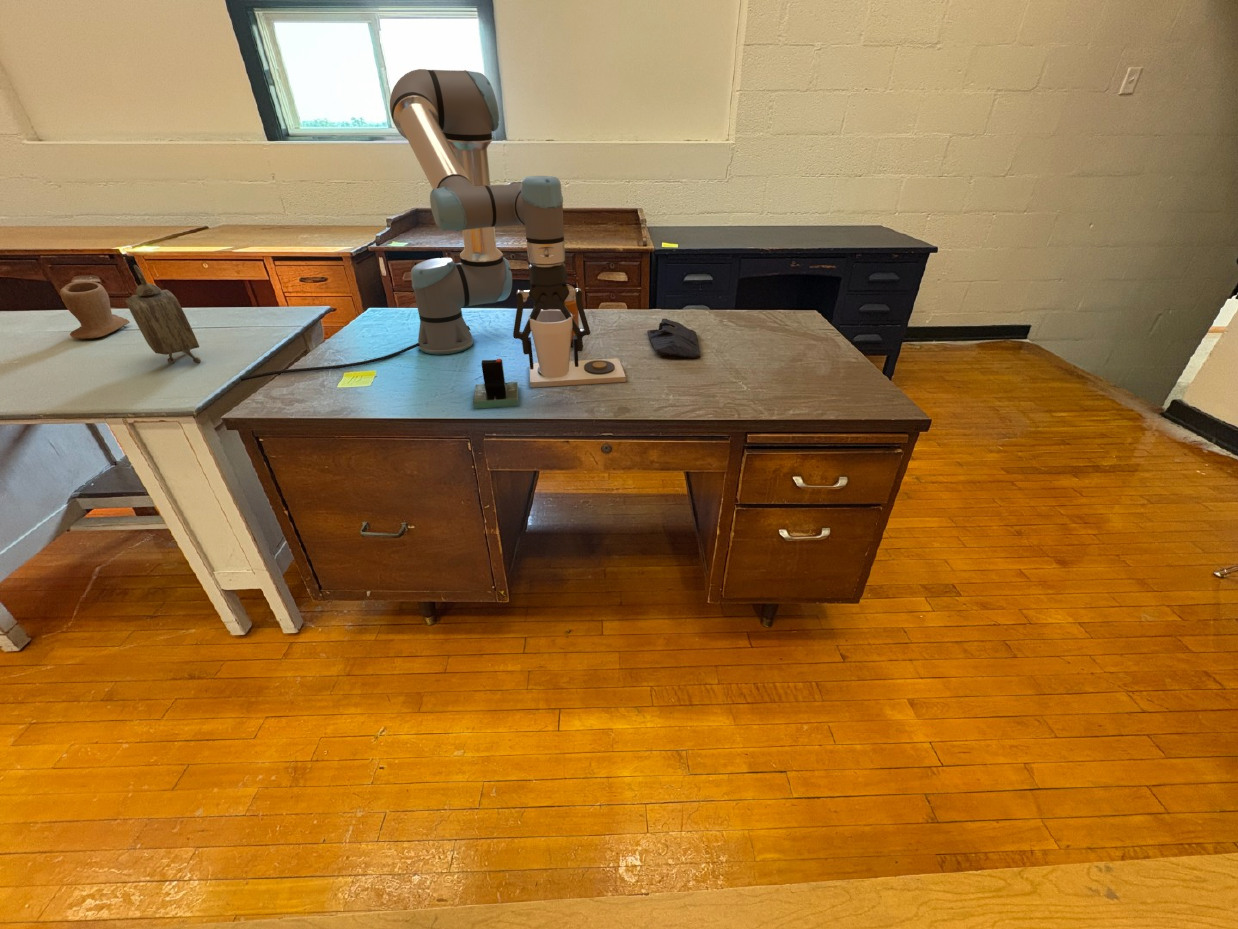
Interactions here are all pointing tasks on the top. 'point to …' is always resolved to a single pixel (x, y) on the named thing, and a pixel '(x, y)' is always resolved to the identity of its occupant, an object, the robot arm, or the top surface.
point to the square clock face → (496, 397)
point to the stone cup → (91, 309)
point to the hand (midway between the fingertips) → (554, 365)
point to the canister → (571, 309)
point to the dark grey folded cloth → (674, 340)
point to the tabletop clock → (161, 320)
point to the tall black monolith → (493, 376)
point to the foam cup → (552, 342)
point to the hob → (582, 374)
